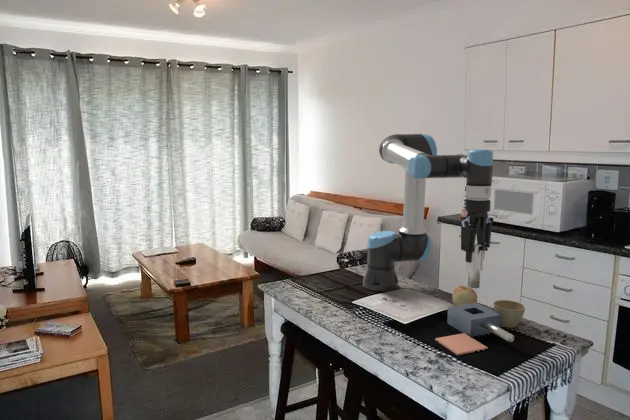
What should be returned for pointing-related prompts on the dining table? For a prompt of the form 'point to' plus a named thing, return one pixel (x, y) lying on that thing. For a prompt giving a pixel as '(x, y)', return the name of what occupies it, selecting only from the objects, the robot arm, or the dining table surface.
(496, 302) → the beige bowl
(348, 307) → the dining table surface
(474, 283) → the key
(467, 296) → the apple
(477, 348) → the mat
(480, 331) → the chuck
